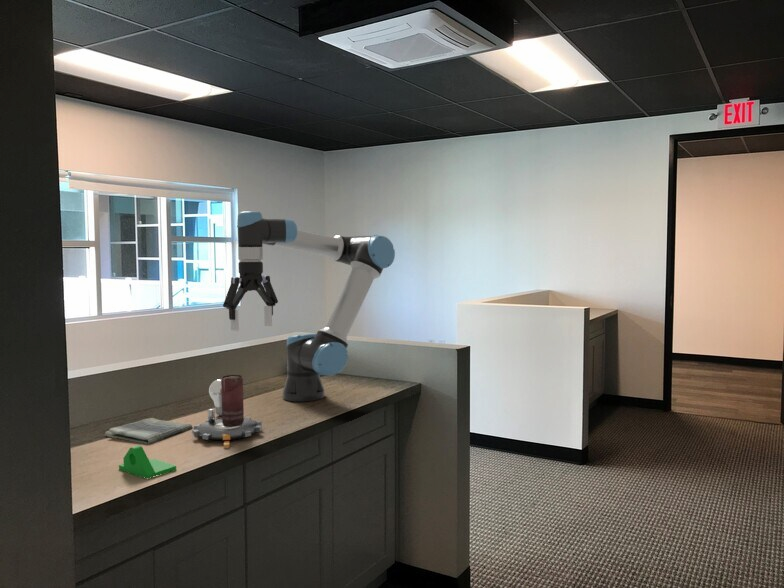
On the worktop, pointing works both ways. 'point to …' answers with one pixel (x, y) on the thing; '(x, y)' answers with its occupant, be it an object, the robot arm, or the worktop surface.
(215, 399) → the light bulb
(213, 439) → the sprocket base
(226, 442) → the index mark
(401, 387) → the worktop surface
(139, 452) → the bracket
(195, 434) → the sprocket
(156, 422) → the dish towel
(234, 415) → the can
